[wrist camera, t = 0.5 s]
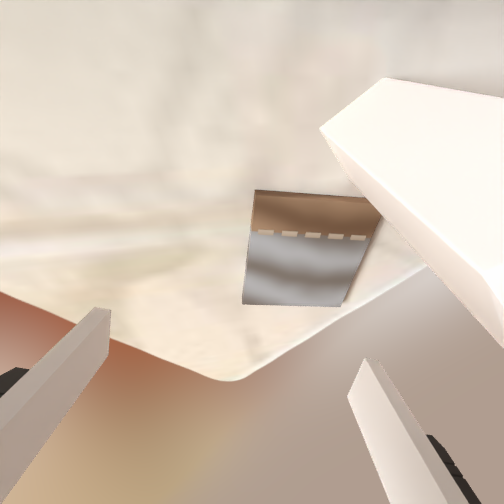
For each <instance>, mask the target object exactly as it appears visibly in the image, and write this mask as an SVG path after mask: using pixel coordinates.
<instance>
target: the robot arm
mask: <svg viewBox="0 0 504 504" xmlns="http://www.w3.org/2000/svg"><path fill="white" fill-rule="evenodd" d="M110 318H111V310H108V309H102V308H97V307H95V308H93V309H92V310H91V311H90V312H89V313H88V314H87V315H86V316H85V317H84V318H83V319H82V320H81V321H80V322H79V323H78V324H77V325H76V326H75V327H74V328H73V329H72V330H71V331H70V332H69V333H67V335H66V336H64V337H63V338H62V339H61V340H60V341H59V342H58V343H57V344H56V345H55V346H54V347H53V348H52V349H51V350H50V351H49V352H48V353H47V354H46V355H45V356H44V357H43V358H41V360H40V361H38V362H37V363H36V364H35V365H34V366H33V367H32V368H31V369H30V370H29V369H23V368H17V367H15V368H14V369H12V370H10V371H8V372H6V373H4V374H2V375H1V376H0V504H2V502H3V500H4V499H5V498H6V497H7V495H8V494H9V492H10V491H11V490H12V488H13V487H14V486H15V484H16V483H17V481H18V480H19V479H20V477H21V476H22V474H23V473H24V472H25V470H26V469H27V467H28V466H29V465H30V463H31V462H32V460H33V459H34V458H35V456H36V455H37V454H38V452H39V451H40V449H41V448H42V447H43V445H44V444H45V442H46V441H47V440H48V438H49V437H50V435H51V434H52V433H53V431H54V430H55V428H56V427H57V425H58V424H59V423H60V422H61V420H62V418H63V417H64V416H65V415H66V413H67V412H68V410H69V409H70V408H71V406H72V405H73V403H74V402H75V401H76V399H77V398H78V397H79V395H80V394H81V392H82V391H83V390H84V388H85V387H86V385H87V384H88V382H89V381H90V380H91V378H92V377H93V376H94V374H95V373H96V371H97V370H98V369H99V367H100V366H101V365H102V363H103V362H104V360H105V359H106V358H107V356H108V352H109V335H110ZM347 398H348V400H349V402H350V405H351V407H352V410H353V412H354V415H355V417H356V420H357V422H358V425H359V427H360V430H361V432H362V435H363V437H364V440H365V442H366V445H367V447H368V449H369V452H370V454H371V457H372V459H373V462H374V464H375V467H376V469H377V472H378V474H379V477H380V479H381V482H382V484H383V487H384V489H385V491H386V494H387V497H388V499H389V501H390V504H481V502H480V501H479V499H478V498H477V496H476V495H475V493H474V492H473V490H472V489H471V487H470V486H469V484H468V483H467V481H466V480H465V479H463V475H462V474H461V472H460V471H459V469H458V468H457V467H456V466H455V465H454V462H453V460H452V459H451V457H450V456H449V454H448V453H447V451H446V450H445V448H444V447H442V445H441V444H440V443H439V442H438V441H437V440H436V439H435V438H434V437H433V436H432V435H426V434H425V433H424V432H423V430H422V428H421V427H420V425H419V424H418V422H417V421H416V419H415V417H414V416H413V414H412V412H411V411H410V409H409V408H408V406H407V405H406V403H405V402H404V400H403V398H402V397H401V395H400V394H399V392H398V390H397V389H396V387H395V386H394V384H393V382H392V381H391V379H390V378H389V376H388V374H387V373H386V371H385V370H384V368H383V367H382V365H381V363H380V362H379V360H375V359H370V358H364V360H363V363H362V365H361V367H360V369H359V371H358V374H357V376H356V378H355V380H354V382H353V385H352V387H351V389H350V391H349V394H348V396H347Z"/></svg>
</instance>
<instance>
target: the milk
mask: <svg viewBox="0 0 504 504" xmlns="http://www.w3.org/2000/svg"><path fill="white" fill-rule="evenodd" d="M319 129H320V131H321V133H322V134H323V136H324V138H325V139H326V141H327V143H328V145H329V146H330V148H331V150H332V151H333V153H334V155H335V156H336V158H337V160H338V161H339V163H340V165H341V166H342V168H343V170H344V171H345V173H346V175H347V177H348V178H349V180H350V181H351V182H352V183H353V184H354V185H355V186H356V187H357V188H358V190H359V191H360V192H361V193H362V194H363V195H364V196H365V197H366V198H367V199H368V201H369V202H370V203H371V204H372V205H373V206H374V207H375V208H376V209H377V210H378V212H379V213H380V214H381V215H382V216H383V217H384V218H385V219H386V220H387V221H388V222H389V224H390V225H391V226H392V227H393V228H394V229H395V230H396V231H397V232H398V233H399V235H400V236H401V237H402V238H403V239H404V240H405V241H406V242H407V243H408V244H409V246H410V247H411V248H412V249H413V250H414V251H415V252H416V253H417V254H418V255H419V257H420V258H421V259H422V260H423V261H424V262H425V263H426V264H427V265H428V266H429V267H430V268H431V270H432V271H433V272H434V273H435V274H436V275H437V276H438V277H439V278H440V279H441V281H442V282H443V283H444V284H445V285H446V286H447V287H448V288H449V289H450V290H451V292H452V293H453V294H454V295H455V296H456V297H457V298H458V299H459V300H460V302H461V303H463V305H464V306H465V307H466V308H467V309H468V310H469V311H470V312H471V313H472V315H473V316H474V317H475V318H476V319H477V320H478V321H479V322H480V323H481V324H482V325H483V327H484V328H485V329H486V330H487V331H488V332H489V333H490V334H491V336H492V337H493V338H494V339H495V340H496V341H497V342H498V343H499V344H500V345H501V347H502V348H504V98H502V97H496V96H490V95H484V94H479V93H473V92H467V91H461V90H456V89H450V88H444V87H438V86H433V85H427V84H421V83H415V82H410V81H404V80H398V79H392V78H387V77H384V78H382V79H381V80H380V81H379V82H377V83H376V84H375V85H374V86H372V87H371V88H370V89H368V90H367V91H366V92H365V93H363V94H362V95H361V96H360V97H358V98H357V99H356V100H354V101H353V102H352V103H351V104H349V105H348V106H347V107H346V108H344V109H343V110H342V111H340V112H339V113H338V114H337V115H335V116H334V117H333V118H332V119H330V120H329V121H328V122H326V123H325V124H324V125H323V126H321V127H320V128H319Z"/></svg>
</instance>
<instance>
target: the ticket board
mask: <svg viewBox="0 0 504 504" xmlns="http://www.w3.org/2000/svg"><path fill="white" fill-rule="evenodd" d="M380 217H381V214H380V213H379V212H378V210H377V209H376V208H375V207H374V206H373V205H372V204H371V203H370V202H369V201H368V199H367V198H357V197H344V196H330V195H317V194H304V193H291V192H277V191H264V190H255V194H254V202H253V211H252V219H251V227H250V236H249V244H248V252H247V261H246V269H245V277H244V286H243V294H242V304H248V305H284V306H320V307H341V304H342V302H343V300H344V298H345V295H346V293H347V291H348V289H349V286H350V284H351V282H352V280H353V278H354V275H355V273H356V271H357V269H358V266H359V264H360V262H361V260H362V257H363V255H364V253H365V251H366V249H367V246H368V244H369V242H370V240H371V237H372V235H373V233H374V231H375V228H376V226H377V224H378V222H379V219H380Z"/></svg>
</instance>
